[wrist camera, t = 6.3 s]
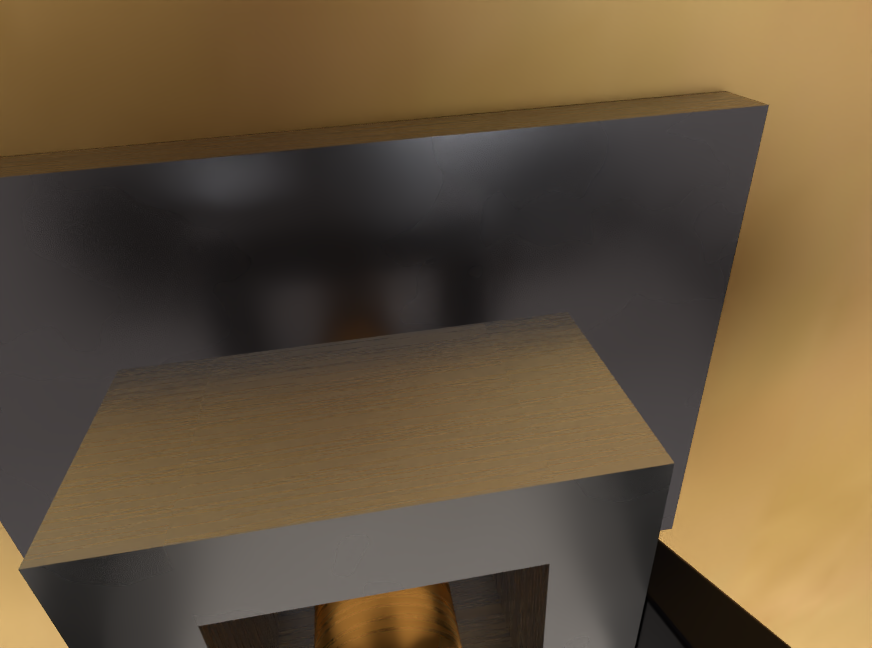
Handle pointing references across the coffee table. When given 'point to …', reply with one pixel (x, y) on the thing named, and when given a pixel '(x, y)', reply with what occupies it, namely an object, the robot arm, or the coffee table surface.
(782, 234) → the coffee table surface
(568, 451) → the grey square frame
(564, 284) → the keeper
